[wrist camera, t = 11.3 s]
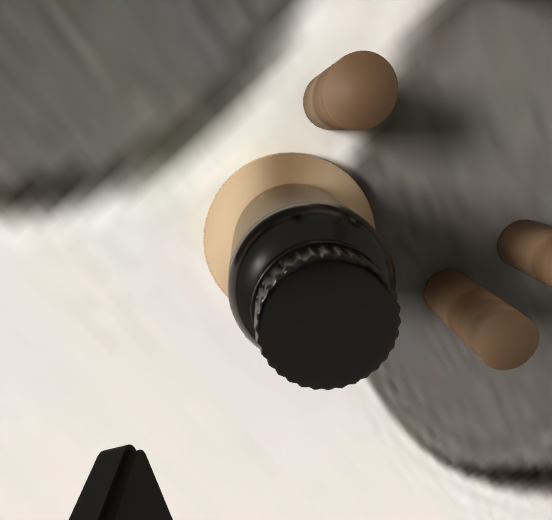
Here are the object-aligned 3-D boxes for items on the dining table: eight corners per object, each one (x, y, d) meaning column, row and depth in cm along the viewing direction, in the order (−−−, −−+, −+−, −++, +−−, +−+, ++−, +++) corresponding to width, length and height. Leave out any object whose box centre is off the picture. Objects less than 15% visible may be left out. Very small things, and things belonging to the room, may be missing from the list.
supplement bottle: (371, 255, 26) (469, 355, 15) (273, 315, 27) (295, 454, 15) (311, 155, 24) (370, 179, 13) (208, 222, 25) (177, 302, 14)
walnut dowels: (677, -126, 22) (860, -234, 16) (668, 258, 29) (796, 297, 22) (276, -23, 23) (288, -86, 16) (352, 337, 29) (384, 400, 22)
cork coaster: (354, 133, 25) (358, 133, 24) (383, 292, 28) (388, 298, 27) (183, 176, 25) (181, 178, 24) (230, 331, 28) (230, 338, 27)
